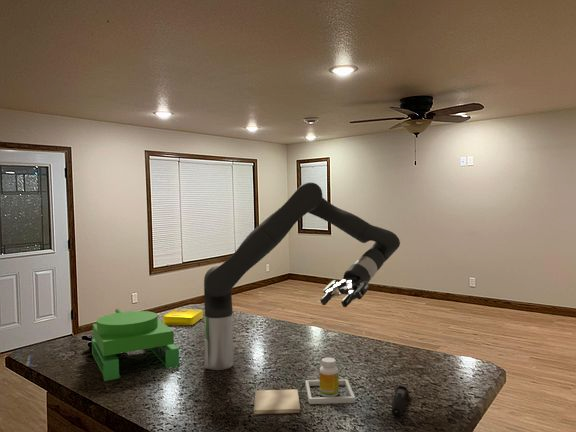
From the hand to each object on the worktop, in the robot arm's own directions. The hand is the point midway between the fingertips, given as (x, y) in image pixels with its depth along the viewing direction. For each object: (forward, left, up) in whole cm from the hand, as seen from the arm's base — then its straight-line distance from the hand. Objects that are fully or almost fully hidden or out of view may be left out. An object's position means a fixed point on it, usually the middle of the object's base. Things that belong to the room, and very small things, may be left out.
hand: (332, 303), depth 130 cm
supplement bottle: (-2, -6, -25) cm, 25 cm away
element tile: (-60, +77, -25) cm, 101 cm away
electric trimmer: (+16, -14, -25) cm, 33 cm away
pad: (-17, -11, -24) cm, 32 cm away
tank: (-68, +28, -25) cm, 78 cm away
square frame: (-2, -6, -24) cm, 25 cm away
